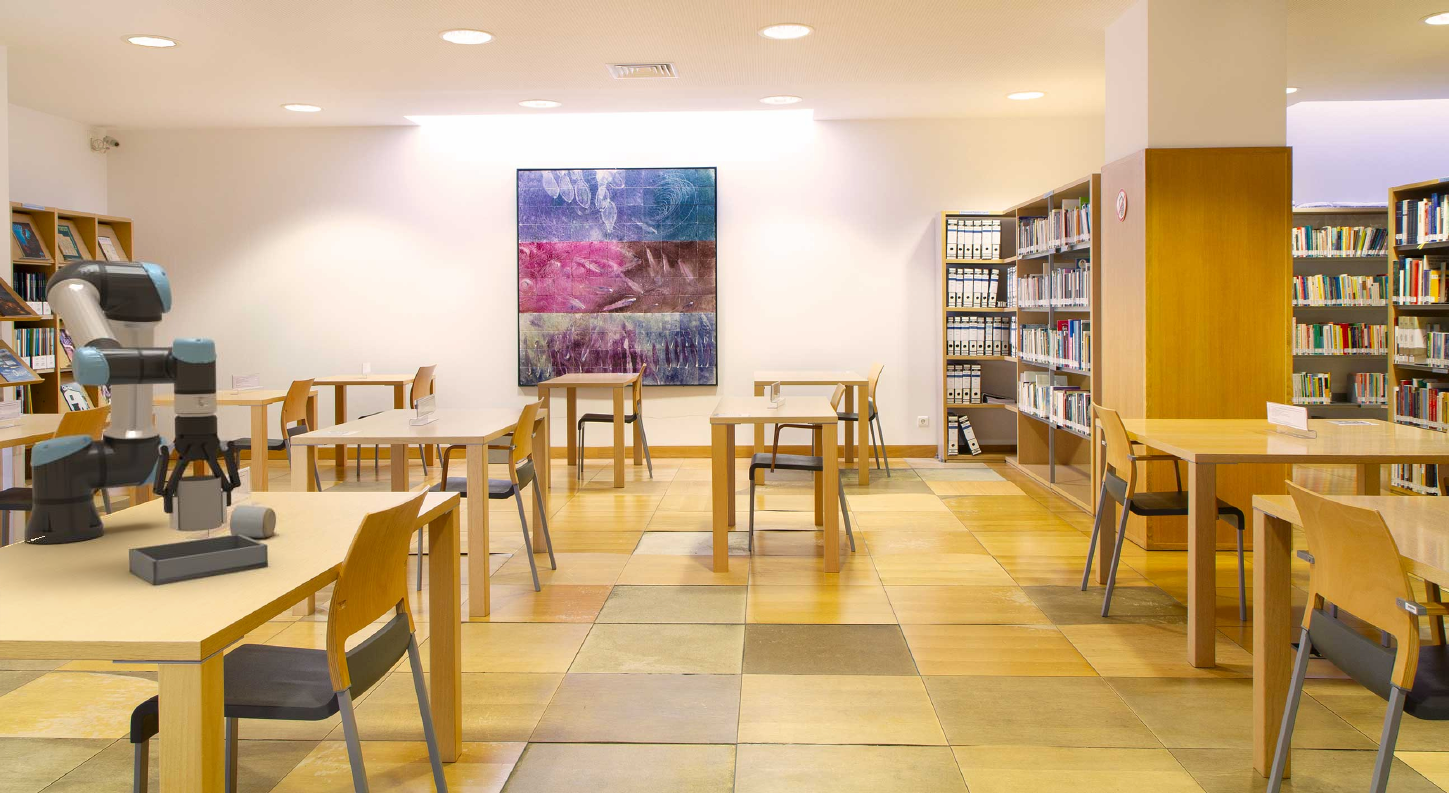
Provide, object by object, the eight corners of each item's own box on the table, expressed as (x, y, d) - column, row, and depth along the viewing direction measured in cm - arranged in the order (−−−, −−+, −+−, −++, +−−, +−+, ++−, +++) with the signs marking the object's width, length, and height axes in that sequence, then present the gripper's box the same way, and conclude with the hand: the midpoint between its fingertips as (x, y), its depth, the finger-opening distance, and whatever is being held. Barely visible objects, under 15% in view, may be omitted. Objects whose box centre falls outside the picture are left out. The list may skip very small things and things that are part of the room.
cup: (173, 532, 187) (172, 482, 186) (175, 524, 194) (174, 476, 193) (221, 529, 191) (220, 479, 190) (222, 521, 198) (221, 474, 197)
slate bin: (129, 571, 190) (129, 549, 190) (239, 554, 206) (239, 533, 205) (154, 585, 180) (153, 562, 180) (267, 566, 195) (267, 544, 195)
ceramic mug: (266, 540, 219) (265, 507, 219) (229, 540, 219) (228, 507, 218) (282, 532, 230) (282, 500, 229) (247, 532, 229) (247, 500, 229)
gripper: (142, 418, 180) (145, 536, 182) (258, 413, 196) (260, 521, 197) (130, 416, 186) (133, 530, 187) (243, 410, 201) (246, 516, 203)
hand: (198, 525), depth 192 cm, fingers closed on cup, 8 cm apart
